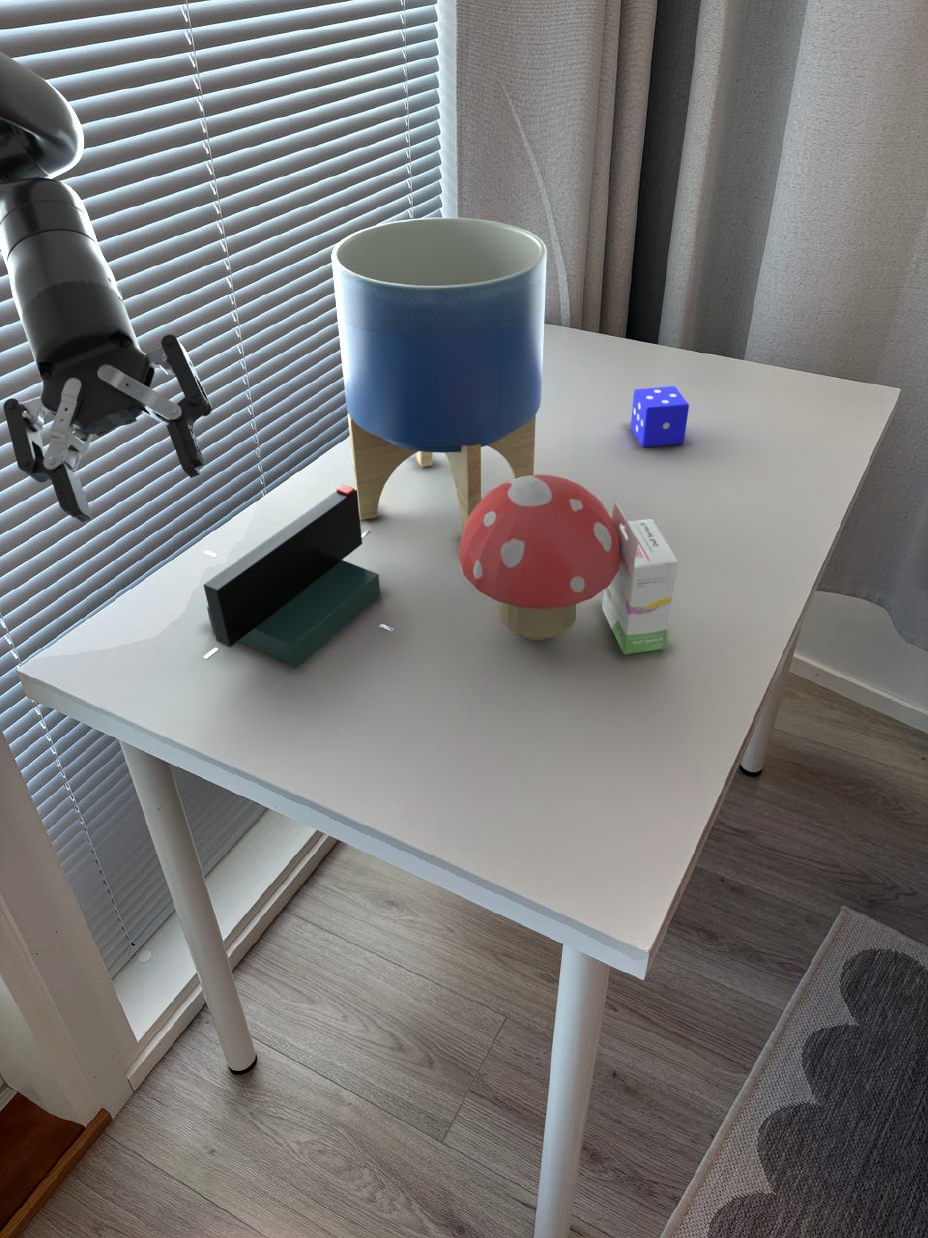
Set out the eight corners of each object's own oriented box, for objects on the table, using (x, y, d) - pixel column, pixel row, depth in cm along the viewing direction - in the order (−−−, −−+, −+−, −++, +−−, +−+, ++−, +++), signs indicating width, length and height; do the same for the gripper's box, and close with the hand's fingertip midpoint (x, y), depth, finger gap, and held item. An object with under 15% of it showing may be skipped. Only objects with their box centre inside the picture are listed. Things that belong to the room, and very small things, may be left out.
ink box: (667, 650, 82) (685, 537, 75) (622, 656, 81) (636, 542, 74) (641, 602, 87) (656, 492, 80) (600, 607, 87) (610, 497, 79)
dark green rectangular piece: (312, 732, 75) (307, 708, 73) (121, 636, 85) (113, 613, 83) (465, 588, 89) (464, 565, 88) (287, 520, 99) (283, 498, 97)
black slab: (230, 647, 79) (216, 588, 75) (216, 641, 80) (202, 582, 76) (362, 544, 91) (357, 487, 87) (349, 539, 92) (343, 482, 88)
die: (642, 447, 110) (647, 408, 107) (629, 427, 114) (634, 388, 110) (684, 443, 110) (689, 404, 107) (670, 424, 114) (675, 385, 111)
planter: (339, 472, 106) (312, 229, 90) (501, 445, 111) (504, 208, 94) (380, 568, 92) (357, 299, 76) (564, 532, 96) (581, 270, 80)
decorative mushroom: (441, 605, 87) (434, 461, 78) (574, 574, 91) (583, 433, 81) (491, 700, 78) (491, 548, 68) (639, 662, 81) (658, 512, 71)
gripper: (-44, 320, 69) (19, 516, 65) (139, 245, 69) (212, 437, 65) (11, 368, 76) (70, 547, 72) (176, 301, 76) (243, 476, 73)
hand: (137, 495), depth 69 cm, fingers open, 8 cm apart
